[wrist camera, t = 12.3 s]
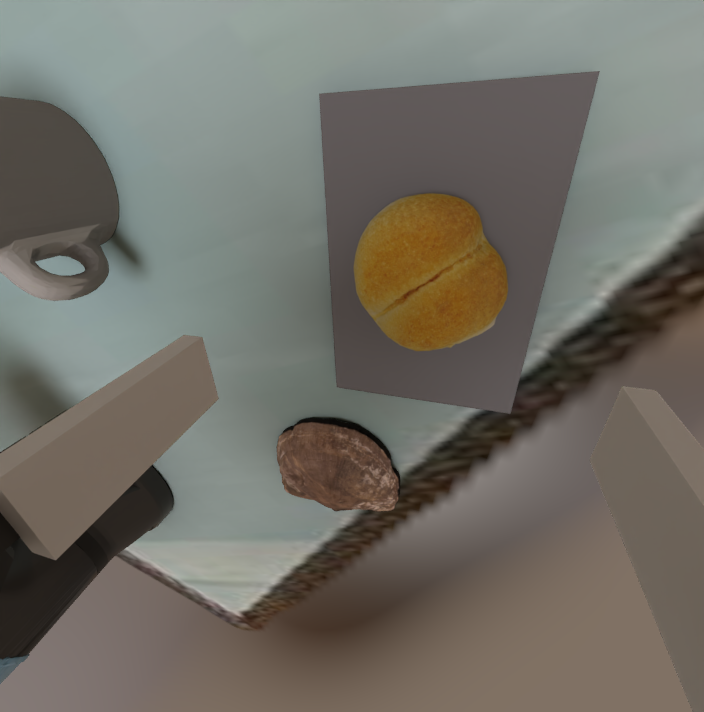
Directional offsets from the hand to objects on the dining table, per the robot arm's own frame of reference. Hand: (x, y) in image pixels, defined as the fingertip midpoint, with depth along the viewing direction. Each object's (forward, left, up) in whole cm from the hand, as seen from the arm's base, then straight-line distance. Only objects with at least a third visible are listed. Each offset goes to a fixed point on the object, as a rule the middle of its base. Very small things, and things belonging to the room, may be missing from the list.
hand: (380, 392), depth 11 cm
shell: (-19, +7, -14) cm, 25 cm away
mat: (0, 0, -13) cm, 13 cm away
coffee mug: (+4, +27, -13) cm, 31 cm away
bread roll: (0, 0, -13) cm, 13 cm away
